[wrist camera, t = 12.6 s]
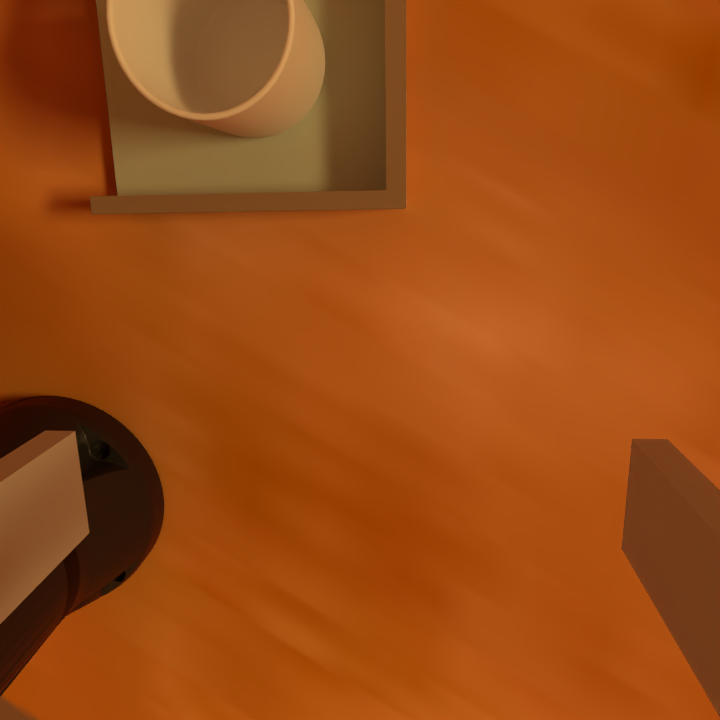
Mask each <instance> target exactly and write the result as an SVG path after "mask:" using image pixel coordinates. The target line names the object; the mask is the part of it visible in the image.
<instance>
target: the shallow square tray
mask: <svg viewBox="0 0 720 720" xmlns="http://www.w3.org/2000/svg"><path fill="white" fill-rule="evenodd" d="M304 2H305V4H306V5H307V7H308V9H309V11H310V12H311V14H312V16H313V17H314V19H315V22H316V24H317V26H318V28H319V31H320V34H321V37H322V40H323V45H324V51H325V74H324V80H323V84H322V88H321V91H320V93H319V96H318V98H317V100H316V102H315V104H314V105H313V107H312V109H311V110H310V111H309V113H308V114H307V115H306V116H305V117H304V118H303V119H302V120H301V121H300V122H299V123H298V124H296V125H295V126H294V127H292V128H291V129H289V130H287V131H285V132H283V133H280V134H278V135H275V136H271V137H266V138H246V137H241V136H236V135H233V134H230V133H227V132H224V131H221V130H218V129H214V128H211V127H208V126H205V125H202V124H199V123H196V122H193V121H190V120H187V119H184V118H181V117H178V116H176V115H173V114H170V113H168V112H166V111H164V110H162V109H160V108H159V107H157V106H156V105H154V104H153V103H151V102H150V101H149V100H147V99H146V98H145V97H144V96H143V95H142V94H141V93H140V92H139V91H138V90H137V89H136V88H135V87H134V86H133V84H132V83H131V82H130V81H129V79H128V78H127V76H126V75H125V73H124V72H123V70H122V68H121V66H120V64H119V62H118V60H117V58H116V56H115V53H114V51H113V48H112V45H111V41H110V37H109V33H108V27H107V20H106V0H96V7H97V16H98V25H99V34H100V43H101V52H102V61H103V70H104V79H105V88H106V97H107V106H108V115H109V124H110V133H111V142H112V151H113V160H114V169H115V178H116V187H117V196H90V205H91V213H92V214H132V213H188V212H244V211H300V210H356V209H405V208H406V0H304Z"/></svg>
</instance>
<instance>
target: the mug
mask: <svg viewBox="0 0 720 720" xmlns="http://www.w3.org/2000/svg"><path fill="white" fill-rule="evenodd" d="M106 20H107V27H108V33H109V37H110V41H111V45H112V48H113V51H114V53H115V56H116V58H117V60H118V62H119V64H120V66H121V68H122V70H123V72H124V73H125V75H126V76H127V78H128V79H129V81H130V82H131V83H132V84H133V86H134V87H135V88H136V89H137V90H138V91H139V92H140V93H141V94H142V95H143V96H144V97H145V98H146V99H147V100H149V101H150V102H151V103H153V104H154V105H156V106H157V107H159V108H160V109H162V110H164V111H166V112H168V113H170V114H173V115H176V116H178V117H181V118H184V119H187V120H190V121H193V122H196V123H199V124H202V125H205V126H208V127H211V128H214V129H218V130H221V131H224V132H227V133H230V134H233V135H236V136H241V137H246V138H266V137H271V136H275V135H278V134H280V133H283V132H285V131H287V130H289V129H291V128H292V127H294V126H295V125H296V124H298V123H299V122H300V121H301V120H302V119H303V118H304V117H305V116H306V115H307V114H308V113H309V111H310V110H311V109H312V107H313V105H314V104H315V102H316V100H317V98H318V96H319V93H320V91H321V88H322V84H323V80H324V74H325V51H324V45H323V40H322V37H321V34H320V31H319V28H318V26H317V24H316V22H315V19H314V17H313V16H312V14H311V12H310V11H309V9H308V7H307V5H306V4H305V2H304V0H106Z"/></svg>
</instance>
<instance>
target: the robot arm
mask: <svg viewBox="0 0 720 720" xmlns="http://www.w3.org/2000/svg"><path fill="white" fill-rule="evenodd" d="M163 515H164V498H163V491H162V486H161V482H160V479H159V475H158V473H157V470H156V468H155V466H154V463H153V461H152V460H151V458H150V456H149V454H148V453H147V451H146V450H145V448H144V447H143V446H142V444H141V443H140V442H139V440H138V439H137V438H136V437H135V436H134V435H133V434H132V433H131V432H130V431H129V430H128V429H127V428H126V427H125V426H124V425H123V424H121V423H120V422H119V421H118V420H116V419H115V418H113V417H112V416H110V415H109V414H107V413H105V412H104V411H102V410H100V409H98V408H96V407H94V406H91V405H89V404H86V403H84V402H81V401H77V400H73V399H69V398H63V397H51V396H45V397H33V398H28V399H24V400H20V401H17V402H14V403H12V404H10V405H8V406H6V407H4V408H2V409H0V696H1V695H2V694H3V693H4V691H5V690H6V689H7V688H8V687H9V685H10V684H11V683H12V682H13V680H14V679H15V678H16V677H17V675H18V674H19V673H20V672H21V670H22V669H23V668H24V667H25V665H26V664H27V663H28V662H29V661H30V659H31V658H32V657H33V656H34V654H35V653H36V652H37V651H38V649H39V648H40V647H41V646H42V644H43V643H44V642H45V641H46V639H47V638H48V637H49V636H50V635H51V633H52V632H53V631H54V629H55V628H56V627H57V626H58V625H59V623H60V622H61V621H62V620H63V619H64V617H65V616H67V615H69V614H71V613H73V612H74V611H76V610H78V609H80V608H82V607H84V606H85V605H87V604H89V603H91V602H93V601H95V600H96V599H98V598H100V597H101V596H103V595H105V594H107V593H109V592H111V591H112V590H114V589H116V588H117V587H119V586H120V585H121V584H123V583H124V582H125V581H126V580H127V579H128V578H129V577H130V576H131V575H132V574H133V573H134V572H135V571H136V570H137V569H138V567H139V566H140V565H141V563H142V562H143V561H144V560H145V558H146V557H147V556H148V554H149V553H150V551H151V550H152V548H153V547H154V545H155V543H156V541H157V539H158V536H159V533H160V530H161V527H162V522H163ZM622 550H623V552H624V553H625V555H626V557H627V558H628V560H629V562H630V564H631V565H632V567H633V569H634V570H635V572H636V574H637V576H638V577H639V579H640V581H641V582H642V584H643V586H644V588H645V589H646V591H647V593H648V595H649V596H650V598H651V600H652V601H653V603H654V605H655V607H656V608H657V610H658V612H659V613H660V615H661V617H662V619H663V620H664V622H665V624H666V625H667V627H668V629H669V631H670V632H671V634H672V636H673V637H674V639H675V641H676V643H677V644H678V646H679V648H680V650H681V651H682V653H683V655H684V656H685V658H686V660H687V662H688V663H689V665H690V667H691V668H692V670H693V672H694V674H695V675H696V677H697V679H698V680H699V682H700V684H701V686H702V687H703V689H704V691H705V693H706V694H707V696H708V698H709V699H710V701H711V703H712V705H713V706H714V708H715V710H716V711H717V713H718V715H719V717H720V490H719V489H718V488H717V487H716V486H715V485H714V484H713V483H712V482H711V481H710V480H709V479H708V478H707V477H706V476H705V475H703V474H702V473H701V472H700V471H699V470H698V469H697V468H696V467H695V466H694V465H693V464H692V463H691V462H690V461H689V460H688V459H687V458H686V457H685V456H684V455H683V454H682V453H681V452H680V451H679V450H678V449H677V448H676V447H675V446H674V445H673V444H672V443H671V442H669V441H668V440H664V439H632V445H631V456H630V466H629V477H628V488H627V498H626V509H625V519H624V530H623V540H622Z"/></svg>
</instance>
